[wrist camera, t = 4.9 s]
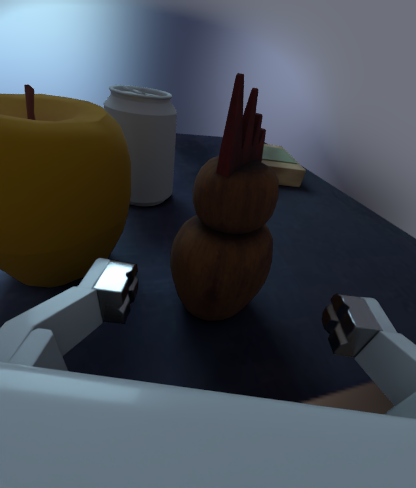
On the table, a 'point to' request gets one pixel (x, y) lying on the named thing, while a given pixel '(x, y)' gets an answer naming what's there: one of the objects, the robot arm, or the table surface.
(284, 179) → the l-shaped display stand
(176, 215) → the table surface
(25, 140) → the apple
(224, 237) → the wooden figurine
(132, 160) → the can
